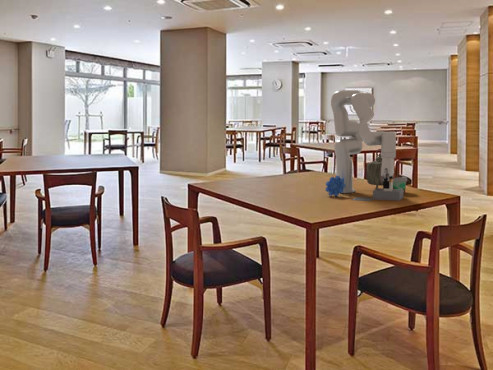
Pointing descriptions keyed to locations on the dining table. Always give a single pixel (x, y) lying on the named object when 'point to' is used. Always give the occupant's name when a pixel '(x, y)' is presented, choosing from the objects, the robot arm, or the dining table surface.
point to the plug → (390, 185)
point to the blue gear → (335, 186)
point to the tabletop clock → (375, 172)
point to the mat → (362, 199)
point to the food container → (400, 183)
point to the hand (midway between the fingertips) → (388, 187)
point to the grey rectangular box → (388, 194)
